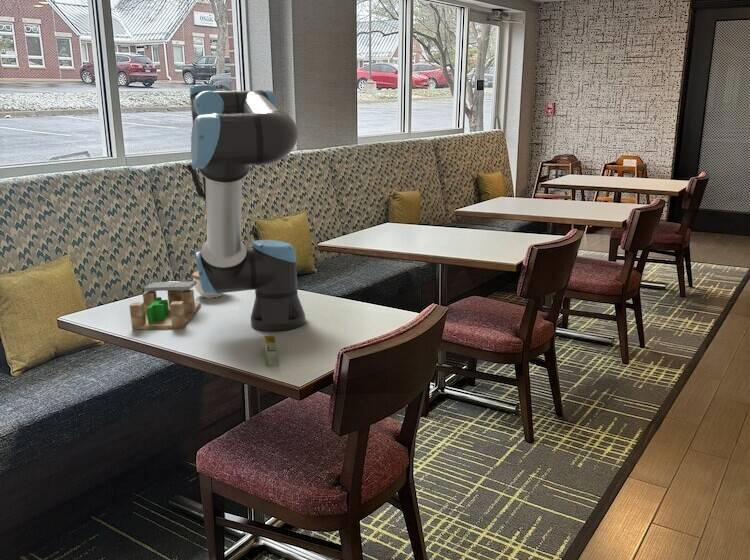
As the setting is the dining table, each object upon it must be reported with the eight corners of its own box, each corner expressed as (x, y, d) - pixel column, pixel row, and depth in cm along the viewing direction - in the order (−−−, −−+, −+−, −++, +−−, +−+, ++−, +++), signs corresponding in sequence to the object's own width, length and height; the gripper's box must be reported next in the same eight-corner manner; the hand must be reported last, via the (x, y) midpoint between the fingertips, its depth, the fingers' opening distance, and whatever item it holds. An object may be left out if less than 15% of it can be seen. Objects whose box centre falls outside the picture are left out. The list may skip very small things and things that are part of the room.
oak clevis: (200, 305, 210) (198, 283, 208) (183, 328, 189) (180, 304, 187) (154, 306, 210) (152, 285, 208) (132, 329, 188) (129, 305, 187)
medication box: (278, 366, 160) (277, 350, 159) (266, 367, 160) (265, 351, 159) (275, 349, 172) (274, 334, 171) (264, 350, 171) (263, 335, 170)
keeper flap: (196, 284, 207) (196, 280, 207) (189, 290, 198) (188, 286, 198) (153, 285, 207) (153, 281, 207) (144, 291, 198) (143, 287, 198)
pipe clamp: (161, 323, 190) (160, 307, 189) (148, 324, 190) (146, 308, 189) (171, 311, 201) (170, 296, 200) (158, 311, 201) (157, 296, 200)
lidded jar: (224, 299, 216) (222, 271, 214) (191, 300, 216) (188, 271, 214) (231, 290, 226) (229, 263, 224) (198, 291, 226) (196, 264, 224)
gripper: (232, 138, 202) (237, 217, 208) (187, 139, 202) (194, 218, 207) (227, 140, 195) (233, 221, 200) (181, 141, 194) (188, 222, 200)
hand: (213, 220), depth 204 cm, fingers closed
